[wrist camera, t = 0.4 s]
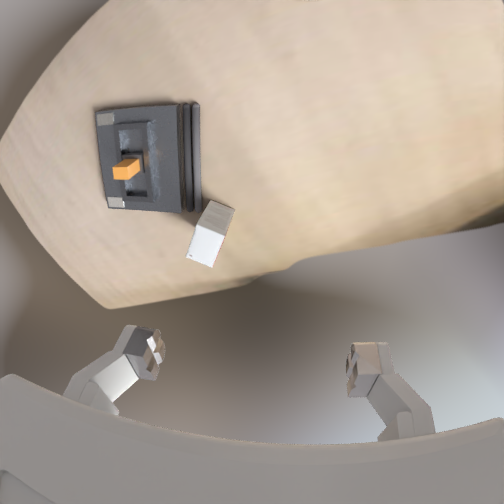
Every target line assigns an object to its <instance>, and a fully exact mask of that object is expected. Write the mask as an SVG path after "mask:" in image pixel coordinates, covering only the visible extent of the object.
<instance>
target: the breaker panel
mask: <svg viewBox="0 0 504 504" xmlns="http://www.w3.org/2000/svg"><path fill="white" fill-rule="evenodd" d="M95 116H96V127H97V137H98V146H99V154H100V161H101V168H102V175H103V181H104V187H105V193H106V199H107V204H108V208H112V209H129V210H145V211H159V212H173V213H182V212H183V210H184V209H185V208H184V193H183V176H182V155H181V125H180V104H172V105H153V106H139V107H128V108H118V109H109V110H101V111H98V112H95ZM140 152H143V157H144V168H145V173H144V174H135V175H134V176H132V177H131V178H130V179H129V180H120V179H114V175H113V168H112V167H114V166H115V165H117V164H118V163H120V162H121V161H122V160H123V158H122V155H123V154H125V153H140Z"/></svg>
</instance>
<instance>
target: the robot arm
mask: <svg viewBox="0 0 504 504" xmlns="http://www.w3.org/2000/svg"><path fill="white" fill-rule="evenodd" d="M160 336H161V334H160V332H159V330H156V329H150V328H145V327H139V326H133V325H127V326H126V327H125V328H124V330H123V332H122V334H121V335H120V337H119V339H118V341H117V343H116V345H115V347H114V349H113V351H109V352H107V353H106V354H104V355H103V356H101V357H100V358H98V359H97V360H95V361H94V362H92V363H91V364H89V365H88V366H86V367H85V368H83V369H82V370H80V371H79V372H77V373H76V374H74V375H73V377H72V379H71V380H70V382H69V384H68V386H67V388H66V390H65V392H64V394H63V396H61V395H59V394H56V393H54V392H51V391H49V390H47V389H45V388H42V387H40V386H38V385H36V384H34V383H32V382H29V381H27V380H25V379H23V378H21V377H19V376H17V375H15V374H9V375H7V376H5V377H3V378H1V379H0V504H504V419H503V418H493V419H490V420H487V421H484V422H480V423H477V424H473V425H469V426H466V427H461V428H457V429H453V430H449V431H444V432H439V433H436V432H435V427H434V421H433V417H432V412H431V407H430V406H429V405H428V404H427V403H426V402H425V401H424V400H423V399H422V398H421V397H420V396H419V395H418V394H417V393H416V392H415V391H414V390H413V389H412V388H411V387H410V385H409V384H408V383H407V382H406V381H405V380H404V379H403V378H402V377H401V376H400V375H399V374H395V372H394V367H393V363H392V358H391V354H390V349H389V345H388V343H387V342H358V343H352V344H351V347H350V352H351V353H349V354H348V356H347V360H346V376H347V377H348V378H349V380H348V382H347V393H348V397H367V399H368V400H369V402H370V403H371V405H372V406H373V408H374V409H375V410H376V412H377V413H378V415H379V416H380V417H381V419H382V420H383V422H384V423H385V424H386V426H387V427H386V428H385V430H384V431H383V432H382V433H381V434H380V435H379V436H378V442H368V443H355V444H354V443H353V444H330V445H328V444H327V445H303V444H276V443H261V442H250V441H240V440H231V439H223V438H217V437H210V436H204V435H198V434H192V433H186V432H182V431H177V430H172V429H167V428H163V427H158V426H154V425H150V424H146V423H142V422H139V421H135V420H131V419H128V418H124V417H121V416H118V413H119V411H118V409H117V408H116V406H115V405H114V404H113V403H112V402H113V401H114V400H115V399H117V398H118V397H119V396H120V395H121V394H122V393H123V392H124V391H126V390H127V389H128V388H129V387H130V386H131V385H132V384H133V383H134V382H135V381H137V380H138V378H142V379H148V380H154V381H155V380H156V377H157V375H158V372H159V366H158V364H159V363H161V362H162V361H163V358H164V356H165V345H164V342H163V341H162V340H161V339H160Z"/></svg>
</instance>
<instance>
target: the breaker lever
mask: <svg viewBox="0 0 504 504" xmlns="http://www.w3.org/2000/svg"><path fill="white" fill-rule="evenodd" d="M122 158H123V160H122V161H121V162H120V163H118V164H117V165H115V166H114V167H112V168H113V175H114V179H120V180H129V179H130V178H131V177H132V176H134V175H135V174H144V173H145V168H144V157H143V152H140V153H125V154H123V155H122Z"/></svg>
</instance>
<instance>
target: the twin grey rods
mask: <svg viewBox="0 0 504 504" xmlns="http://www.w3.org/2000/svg"><path fill="white" fill-rule="evenodd" d="M192 137H193V173H194V197H195V211H196V212H197V213H199V212H201V211H202V198H201V164H200V105H199V104H198V103H195V104H193V106H192ZM183 142H184V168H185V187H186V204H187V211H188V212H192V211H193V209H194V208H193V188H192V162H191V117H190V105H189V104H188V103H186V104H184V105H183Z"/></svg>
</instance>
